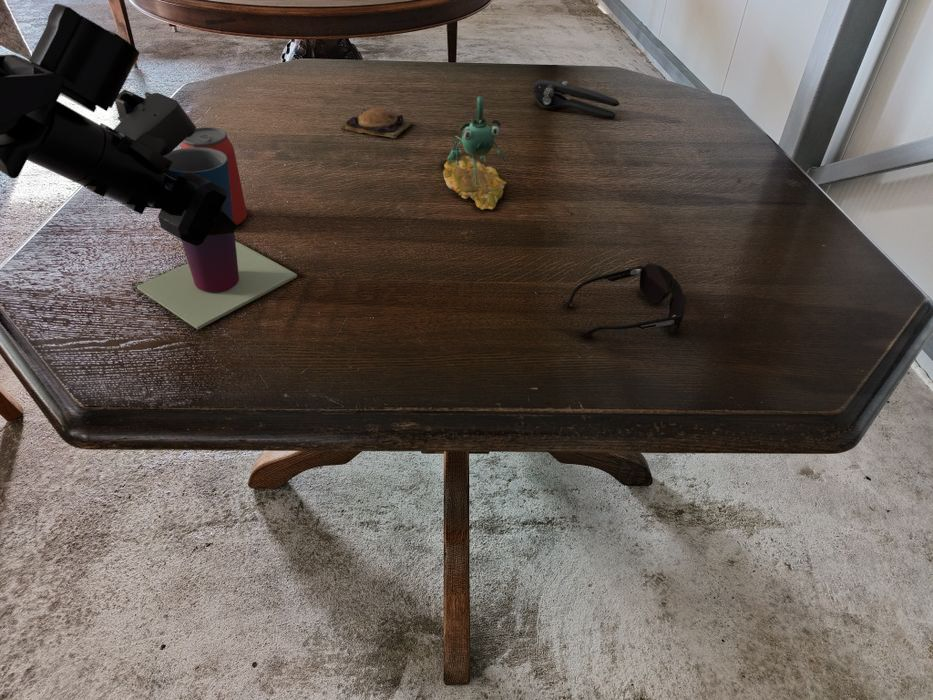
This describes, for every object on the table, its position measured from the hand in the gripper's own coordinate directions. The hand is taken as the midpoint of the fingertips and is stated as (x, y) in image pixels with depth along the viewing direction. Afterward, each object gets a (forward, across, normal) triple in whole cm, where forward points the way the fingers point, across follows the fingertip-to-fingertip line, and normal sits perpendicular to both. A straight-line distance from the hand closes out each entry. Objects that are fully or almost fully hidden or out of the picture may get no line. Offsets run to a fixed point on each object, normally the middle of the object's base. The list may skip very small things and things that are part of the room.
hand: (214, 218), depth 71 cm
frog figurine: (+35, -6, -24) cm, 43 cm away
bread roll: (+40, +22, -28) cm, 54 cm away
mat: (+5, 0, +7) cm, 8 cm away
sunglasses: (+23, -41, -12) cm, 48 cm away
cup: (+4, 0, +7) cm, 8 cm away
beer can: (+12, +13, 0) cm, 17 cm away
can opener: (+64, -1, -52) cm, 82 cm away
